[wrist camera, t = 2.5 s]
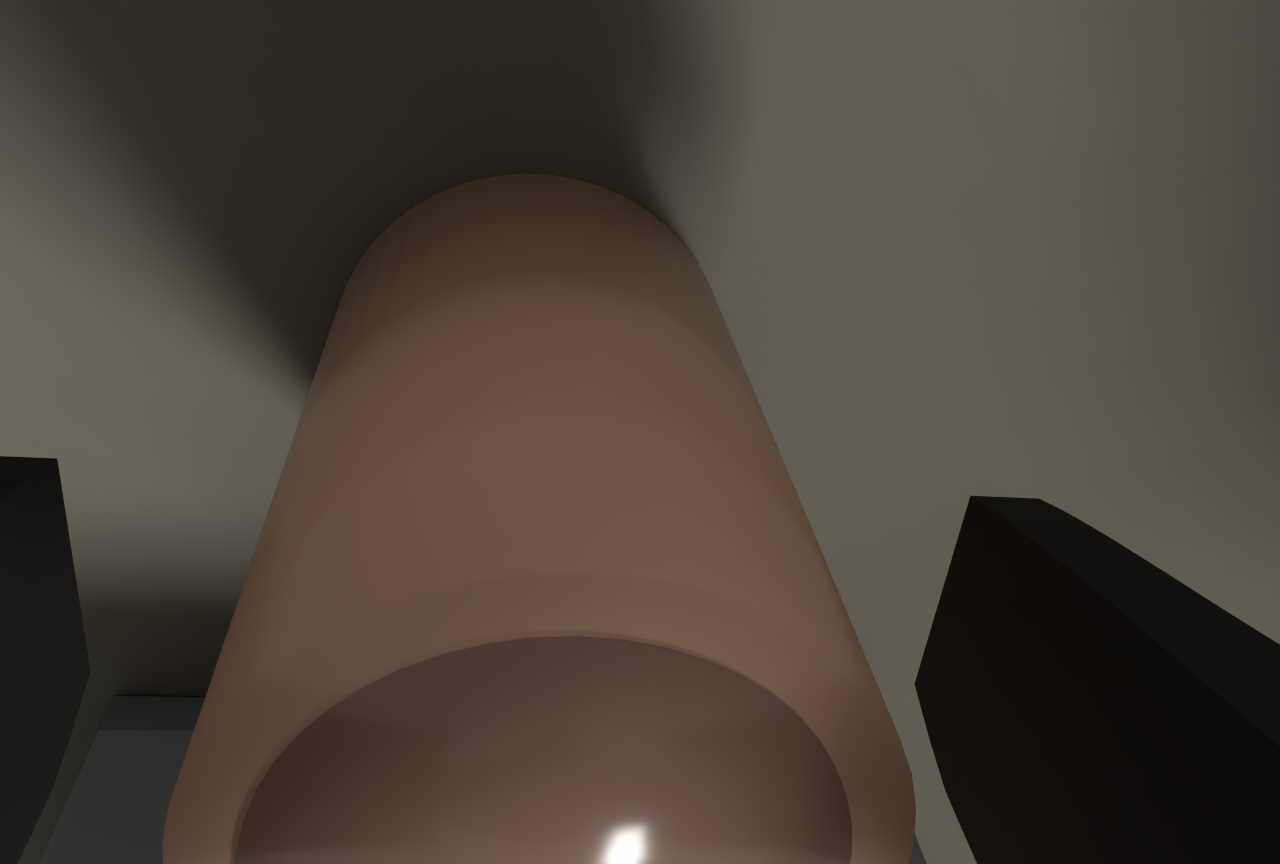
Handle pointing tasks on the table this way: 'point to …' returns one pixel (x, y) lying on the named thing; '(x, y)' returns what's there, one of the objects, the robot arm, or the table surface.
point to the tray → (138, 785)
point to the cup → (537, 579)
